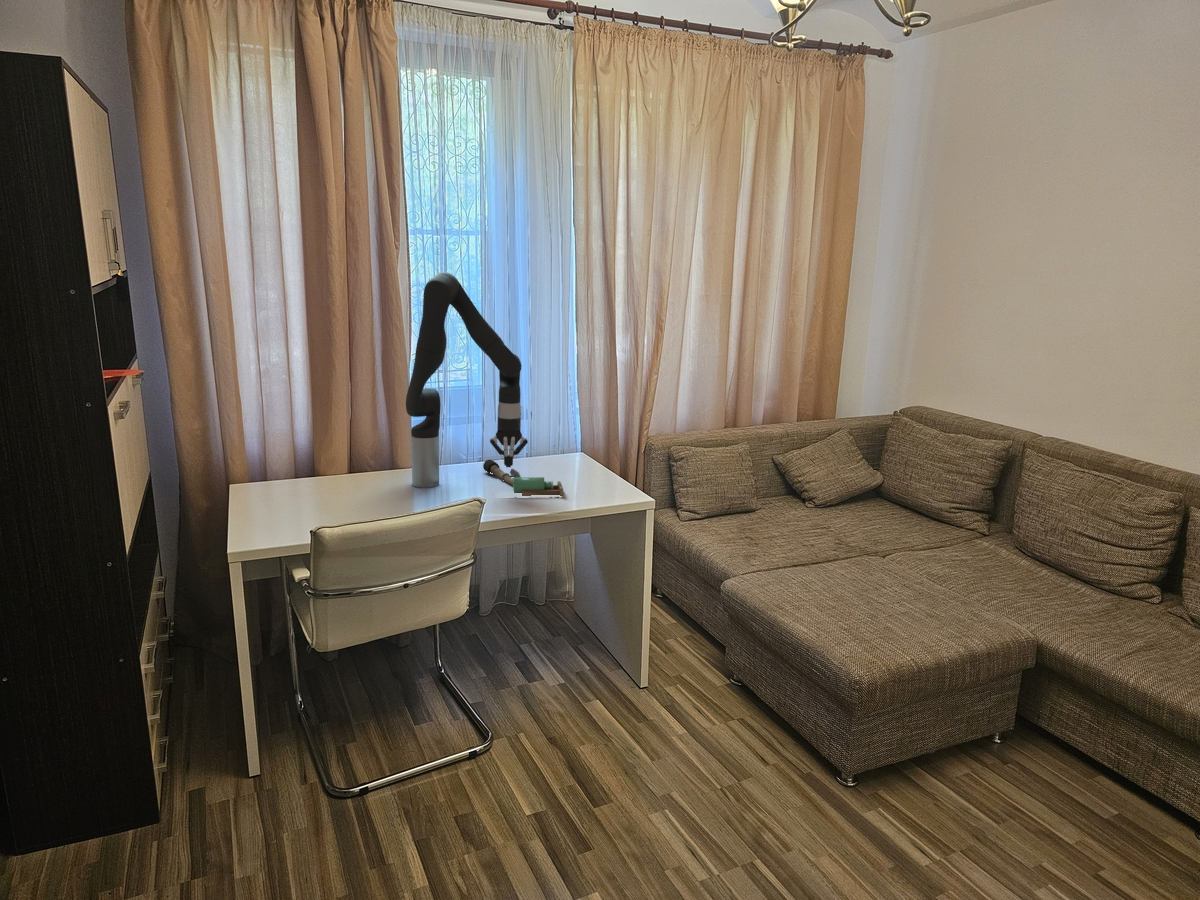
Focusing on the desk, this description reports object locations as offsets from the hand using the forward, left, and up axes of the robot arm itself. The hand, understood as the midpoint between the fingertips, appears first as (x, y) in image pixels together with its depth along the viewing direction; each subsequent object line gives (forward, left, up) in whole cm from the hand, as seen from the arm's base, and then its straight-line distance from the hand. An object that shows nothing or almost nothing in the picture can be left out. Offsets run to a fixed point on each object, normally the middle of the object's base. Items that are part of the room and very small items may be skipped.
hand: (508, 466), depth 271 cm
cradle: (+1, +6, -10) cm, 12 cm away
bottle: (+1, +2, -6) cm, 7 cm away
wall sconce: (-17, 0, -10) cm, 20 cm away
